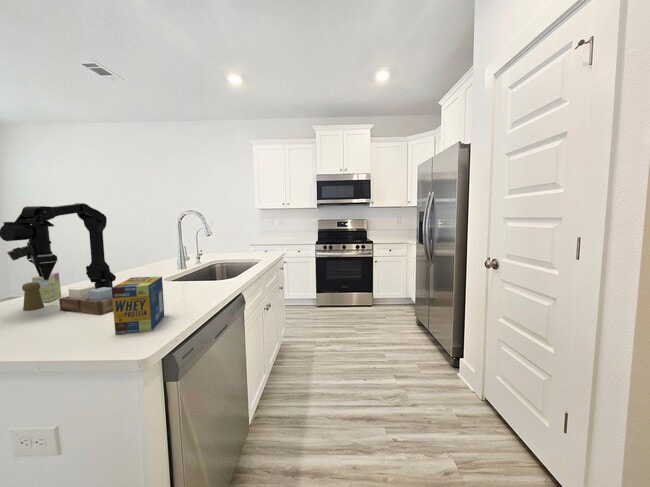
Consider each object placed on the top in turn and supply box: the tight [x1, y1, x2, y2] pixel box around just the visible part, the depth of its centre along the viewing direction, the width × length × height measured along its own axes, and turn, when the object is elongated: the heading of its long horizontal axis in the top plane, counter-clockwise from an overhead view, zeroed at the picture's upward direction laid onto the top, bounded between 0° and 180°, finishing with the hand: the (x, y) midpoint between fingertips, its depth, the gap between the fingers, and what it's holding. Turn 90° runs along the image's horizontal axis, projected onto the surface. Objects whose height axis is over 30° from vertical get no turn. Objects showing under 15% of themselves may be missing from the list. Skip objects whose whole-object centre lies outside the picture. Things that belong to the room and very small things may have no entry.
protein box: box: [112, 275, 165, 335], centre depth 95 cm, size 10×15×16 cm
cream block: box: [68, 285, 95, 299], centre depth 114 cm, size 6×6×4 cm
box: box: [31, 272, 62, 304], centre depth 126 cm, size 10×6×12 cm, turn 25°
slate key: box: [88, 287, 112, 301], centre depth 111 cm, size 6×6×4 cm
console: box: [58, 295, 113, 316], centre depth 113 cm, size 10×22×5 cm, turn 74°
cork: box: [21, 281, 45, 312], centre depth 114 cm, size 6×6×11 cm
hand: (43, 278), depth 108 cm, fingers open, 9 cm apart
